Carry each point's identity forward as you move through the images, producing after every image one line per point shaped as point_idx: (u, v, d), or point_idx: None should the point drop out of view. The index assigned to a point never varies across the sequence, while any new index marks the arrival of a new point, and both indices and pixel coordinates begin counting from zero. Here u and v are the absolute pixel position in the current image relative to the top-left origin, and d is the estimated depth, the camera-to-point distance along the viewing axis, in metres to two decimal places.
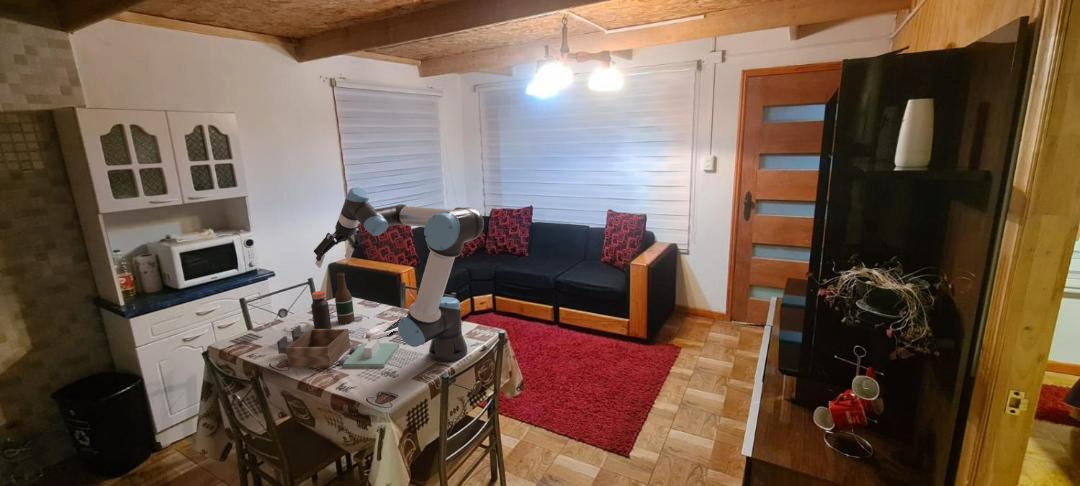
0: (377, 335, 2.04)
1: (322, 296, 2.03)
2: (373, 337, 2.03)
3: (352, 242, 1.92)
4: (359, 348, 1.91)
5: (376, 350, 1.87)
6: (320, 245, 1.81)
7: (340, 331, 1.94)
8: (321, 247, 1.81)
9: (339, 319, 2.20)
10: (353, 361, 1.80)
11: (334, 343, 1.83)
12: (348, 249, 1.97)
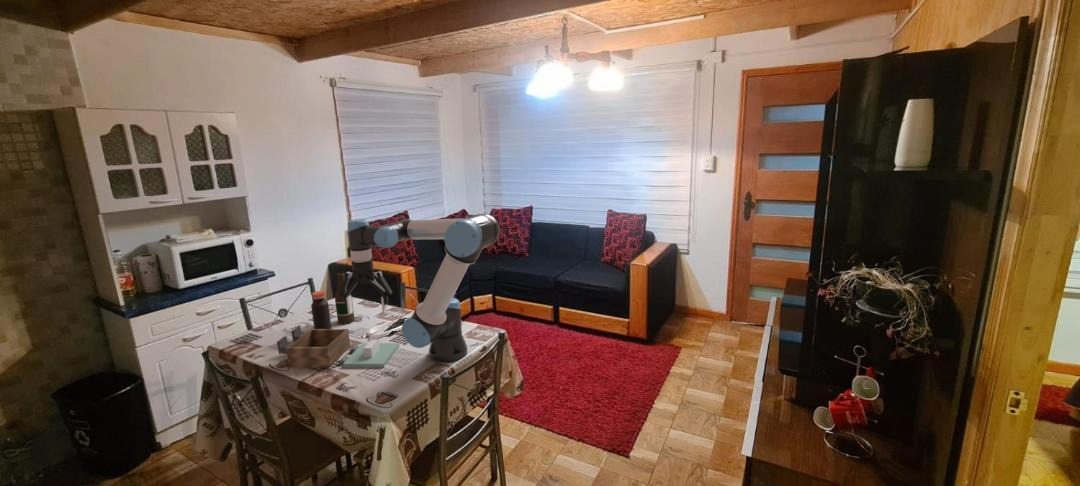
0: (377, 335, 2.04)
1: (322, 296, 2.03)
2: (373, 337, 2.03)
3: (376, 287, 1.80)
4: (359, 348, 1.91)
5: (376, 350, 1.87)
6: None
7: (340, 331, 1.94)
8: None
9: (339, 319, 2.20)
10: (353, 361, 1.80)
11: (334, 343, 1.83)
12: None
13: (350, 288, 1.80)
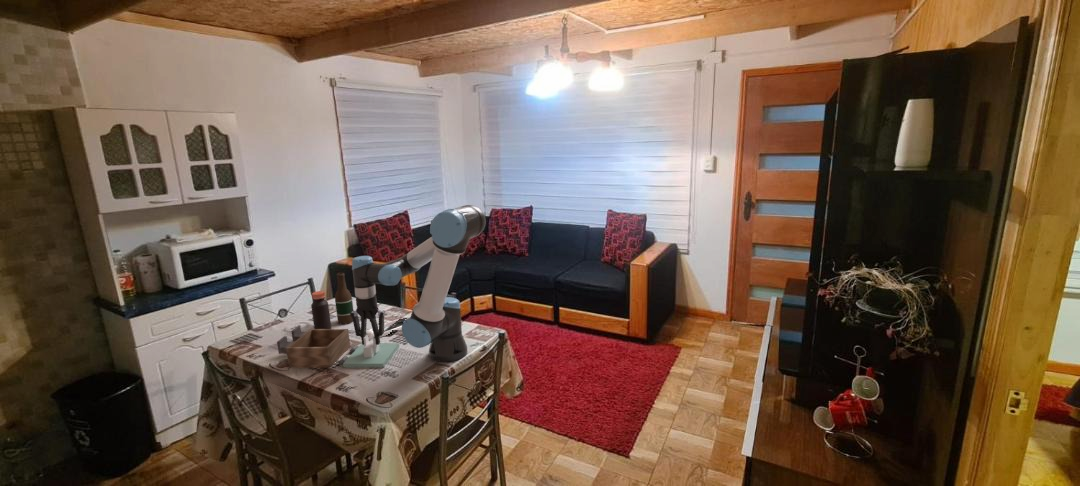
0: None
1: (322, 296, 2.03)
2: (372, 337, 2.03)
3: (373, 326, 1.83)
4: (359, 348, 1.91)
5: None
6: None
7: (340, 331, 1.94)
8: None
9: (339, 319, 2.20)
10: (353, 361, 1.80)
11: (334, 343, 1.83)
12: None
13: (362, 326, 1.83)
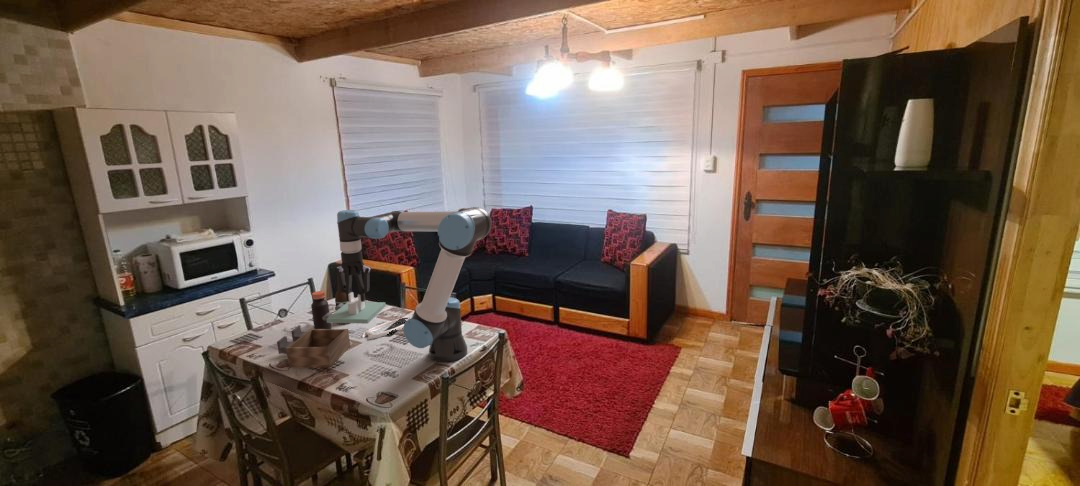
0: (376, 335, 2.04)
1: (322, 296, 2.03)
2: (372, 337, 2.03)
3: (358, 282, 1.79)
4: (344, 306, 1.88)
5: None
6: None
7: (340, 331, 1.94)
8: None
9: None
10: (337, 317, 1.77)
11: (334, 343, 1.83)
12: None
13: (347, 282, 1.80)
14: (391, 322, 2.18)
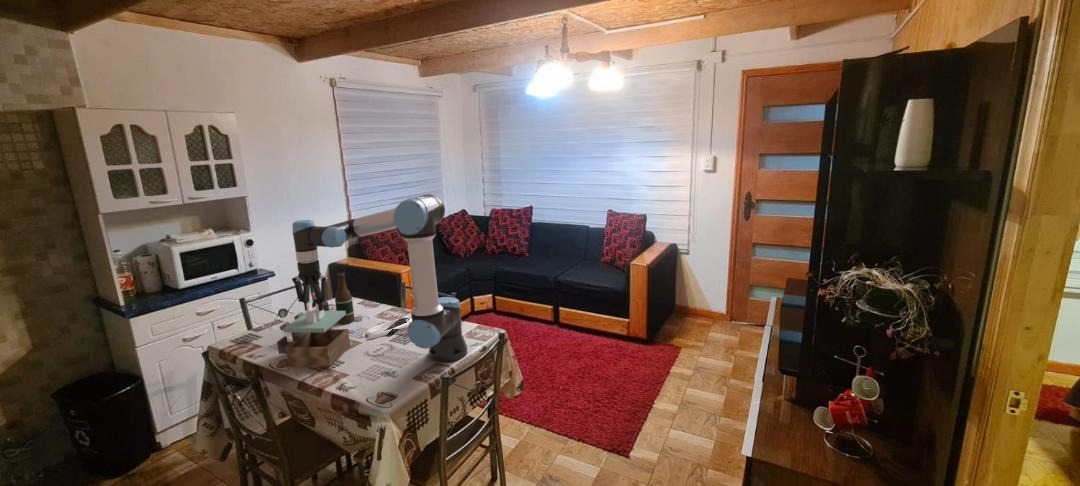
0: (375, 334, 2.04)
1: None
2: (371, 336, 2.03)
3: (315, 291, 1.81)
4: (304, 315, 1.89)
5: None
6: None
7: (340, 331, 1.94)
8: None
9: None
10: (294, 326, 1.78)
11: (334, 343, 1.83)
12: None
13: (304, 292, 1.81)
14: (391, 322, 2.19)
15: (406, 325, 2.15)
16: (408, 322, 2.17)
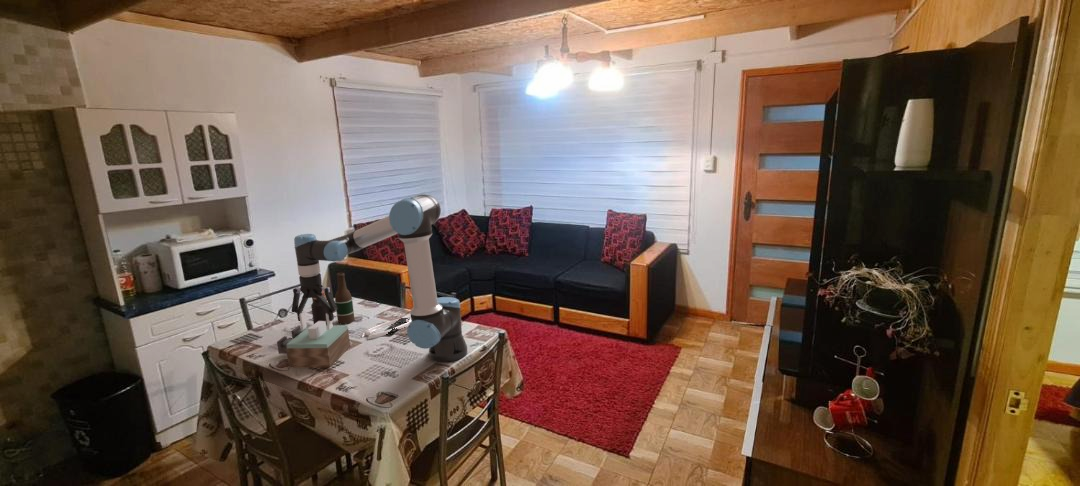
0: (375, 334, 2.04)
1: None
2: (371, 336, 2.04)
3: (322, 303, 1.82)
4: (306, 330, 1.90)
5: (322, 331, 1.86)
6: None
7: None
8: None
9: (339, 319, 2.20)
10: (297, 342, 1.79)
11: (334, 343, 1.83)
12: None
13: (301, 304, 1.82)
14: (391, 322, 2.19)
15: (406, 325, 2.15)
16: (408, 322, 2.17)
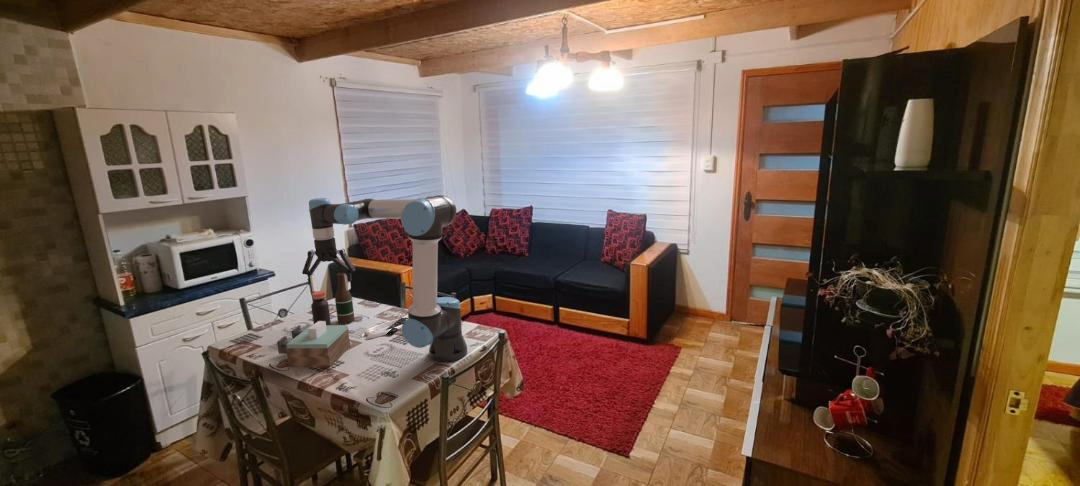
0: (374, 334, 2.04)
1: (322, 296, 2.03)
2: (370, 336, 2.04)
3: (339, 265, 1.84)
4: (306, 330, 1.90)
5: (322, 331, 1.86)
6: None
7: None
8: None
9: (339, 319, 2.20)
10: (297, 342, 1.79)
11: (334, 343, 1.83)
12: None
13: (313, 266, 1.84)
14: (391, 322, 2.19)
15: None
16: None
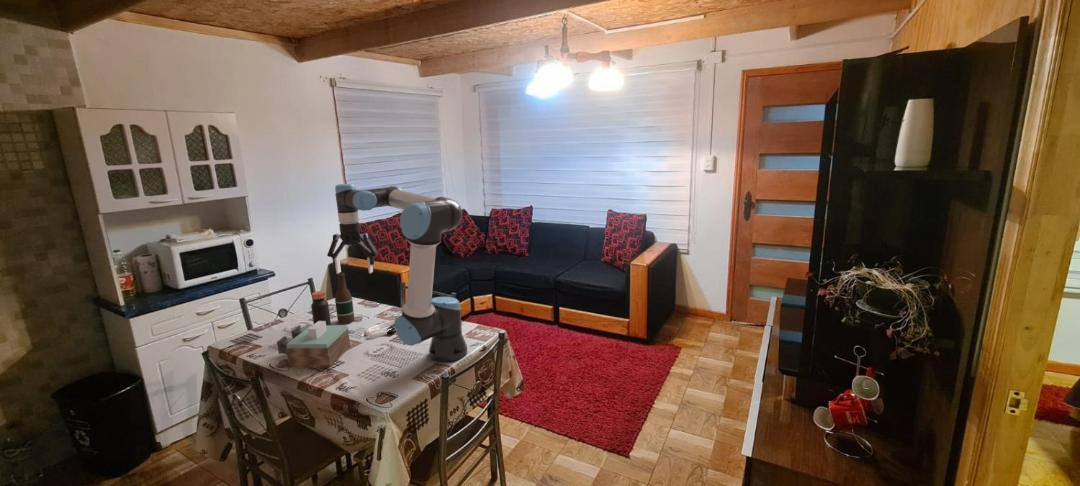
0: (374, 334, 2.05)
1: (322, 296, 2.03)
2: (370, 336, 2.04)
3: (362, 248, 1.91)
4: (306, 330, 1.90)
5: (322, 331, 1.86)
6: None
7: None
8: None
9: (339, 319, 2.20)
10: (297, 342, 1.79)
11: (334, 343, 1.83)
12: None
13: (338, 249, 1.92)
14: (391, 322, 2.19)
15: None
16: None
